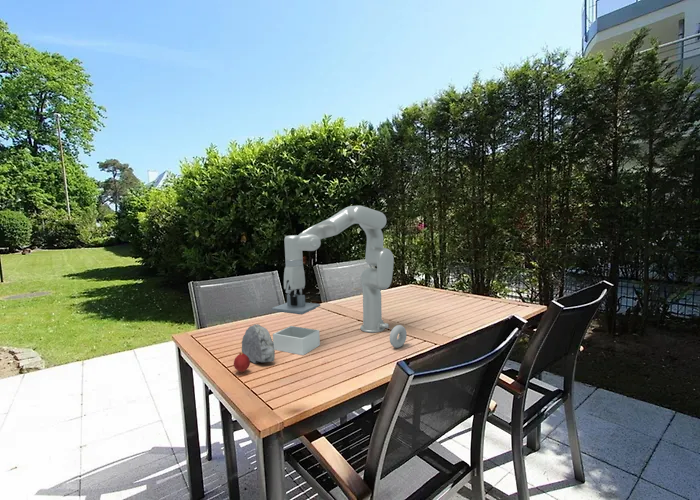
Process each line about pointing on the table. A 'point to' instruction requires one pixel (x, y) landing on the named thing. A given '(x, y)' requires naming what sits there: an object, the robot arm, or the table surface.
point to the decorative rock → (258, 344)
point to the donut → (394, 334)
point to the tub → (296, 340)
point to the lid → (298, 309)
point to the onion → (241, 362)
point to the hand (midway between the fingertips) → (296, 304)
